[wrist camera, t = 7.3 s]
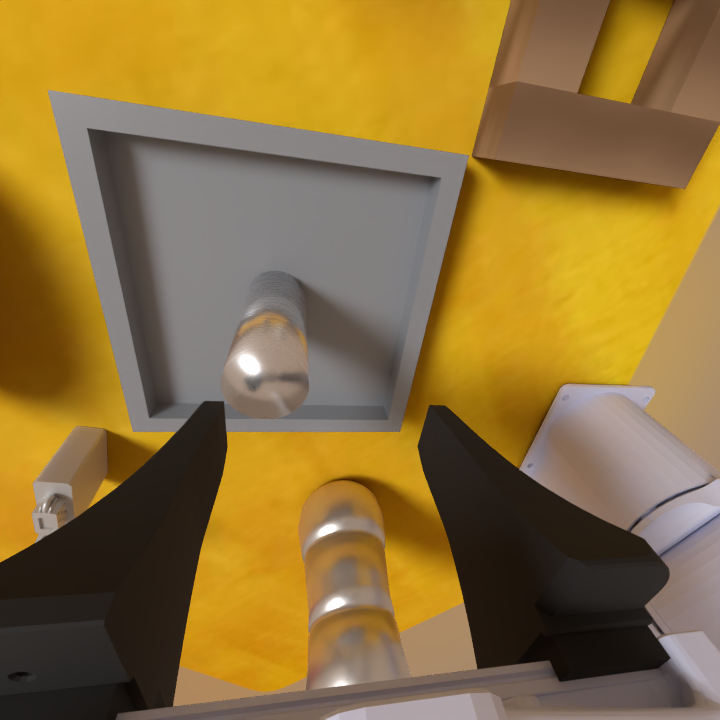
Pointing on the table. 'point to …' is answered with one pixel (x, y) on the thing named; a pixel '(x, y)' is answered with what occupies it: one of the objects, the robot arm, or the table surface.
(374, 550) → the plastic bottle
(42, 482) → the lighter
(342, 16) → the table surface
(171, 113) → the tray
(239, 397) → the steel pin
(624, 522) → the robot arm
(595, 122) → the block
